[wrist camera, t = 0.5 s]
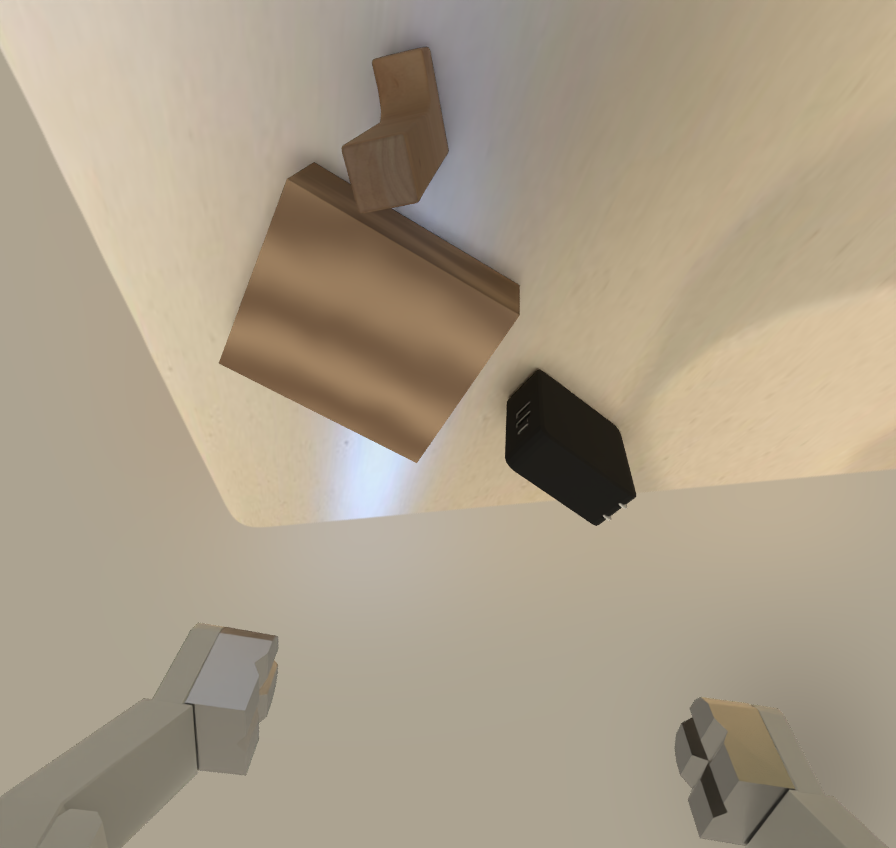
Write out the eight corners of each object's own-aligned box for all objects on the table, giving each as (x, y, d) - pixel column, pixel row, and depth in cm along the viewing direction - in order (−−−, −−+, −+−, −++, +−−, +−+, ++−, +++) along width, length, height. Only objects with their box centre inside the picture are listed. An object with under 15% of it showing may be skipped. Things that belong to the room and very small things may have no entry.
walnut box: (314, 162, 43) (286, 178, 38) (519, 285, 46) (519, 315, 41) (247, 331, 51) (218, 363, 46) (426, 424, 55) (416, 463, 50)
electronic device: (537, 365, 50) (541, 430, 42) (620, 428, 53) (639, 501, 45) (506, 397, 52) (504, 465, 44) (587, 456, 55) (599, 530, 47)
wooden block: (449, 153, 41) (419, 203, 29) (405, 162, 42) (358, 215, 30) (429, 46, 38) (386, 51, 26) (382, 57, 39) (317, 68, 26)
